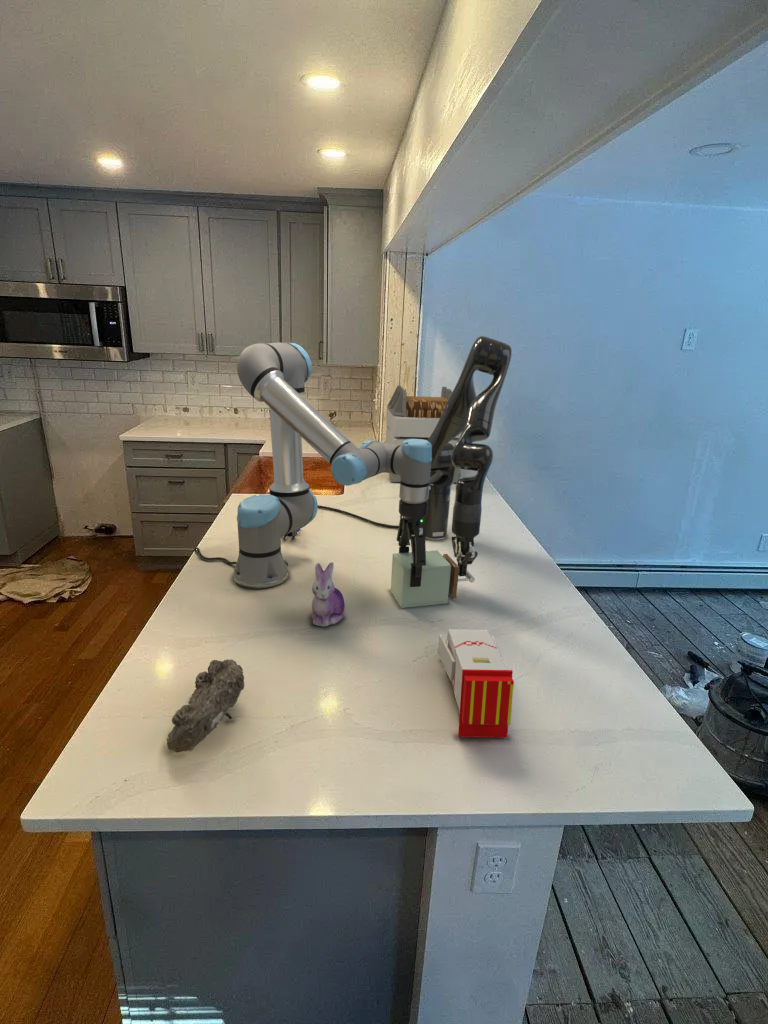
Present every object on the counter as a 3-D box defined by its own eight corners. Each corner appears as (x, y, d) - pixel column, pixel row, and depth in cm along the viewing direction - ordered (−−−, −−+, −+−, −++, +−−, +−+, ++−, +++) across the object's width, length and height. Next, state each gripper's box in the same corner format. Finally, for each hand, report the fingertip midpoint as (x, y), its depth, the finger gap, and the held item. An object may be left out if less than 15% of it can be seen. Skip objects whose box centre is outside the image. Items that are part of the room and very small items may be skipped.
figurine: (317, 631, 137) (317, 576, 132) (303, 612, 146) (302, 559, 141) (353, 623, 142) (354, 569, 137) (337, 605, 150) (337, 553, 145)
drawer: (461, 581, 164) (464, 552, 161) (474, 596, 156) (478, 565, 153) (405, 587, 160) (407, 556, 157) (415, 602, 152) (417, 570, 149)
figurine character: (298, 546, 189) (303, 525, 202) (297, 526, 185) (302, 506, 199) (277, 546, 188) (284, 525, 202) (276, 525, 185) (283, 505, 198)
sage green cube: (434, 586, 163) (437, 550, 159) (447, 603, 154) (451, 565, 150) (390, 590, 160) (392, 553, 156) (401, 608, 150) (403, 569, 147)
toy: (488, 613, 130) (523, 677, 101) (484, 667, 133) (517, 744, 104) (435, 612, 130) (455, 676, 101) (432, 666, 133) (451, 743, 103)
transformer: (382, 463, 289) (386, 382, 275) (445, 464, 293) (451, 384, 279) (390, 482, 257) (394, 392, 243) (460, 483, 261) (468, 394, 247)
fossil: (192, 660, 117) (244, 628, 112) (224, 691, 120) (276, 661, 115) (142, 746, 98) (202, 712, 93) (182, 779, 101) (242, 748, 96)
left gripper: (443, 513, 137) (436, 595, 145) (413, 486, 157) (409, 558, 165) (414, 515, 135) (408, 598, 143) (387, 487, 155) (384, 560, 163)
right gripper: (490, 524, 147) (484, 584, 153) (469, 507, 159) (464, 564, 165) (463, 526, 145) (458, 587, 151) (444, 509, 157) (440, 566, 163)
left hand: (408, 577), depth 154 cm, fingers closed on sage green cube, 10 cm apart
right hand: (461, 575), depth 158 cm, fingers closed
